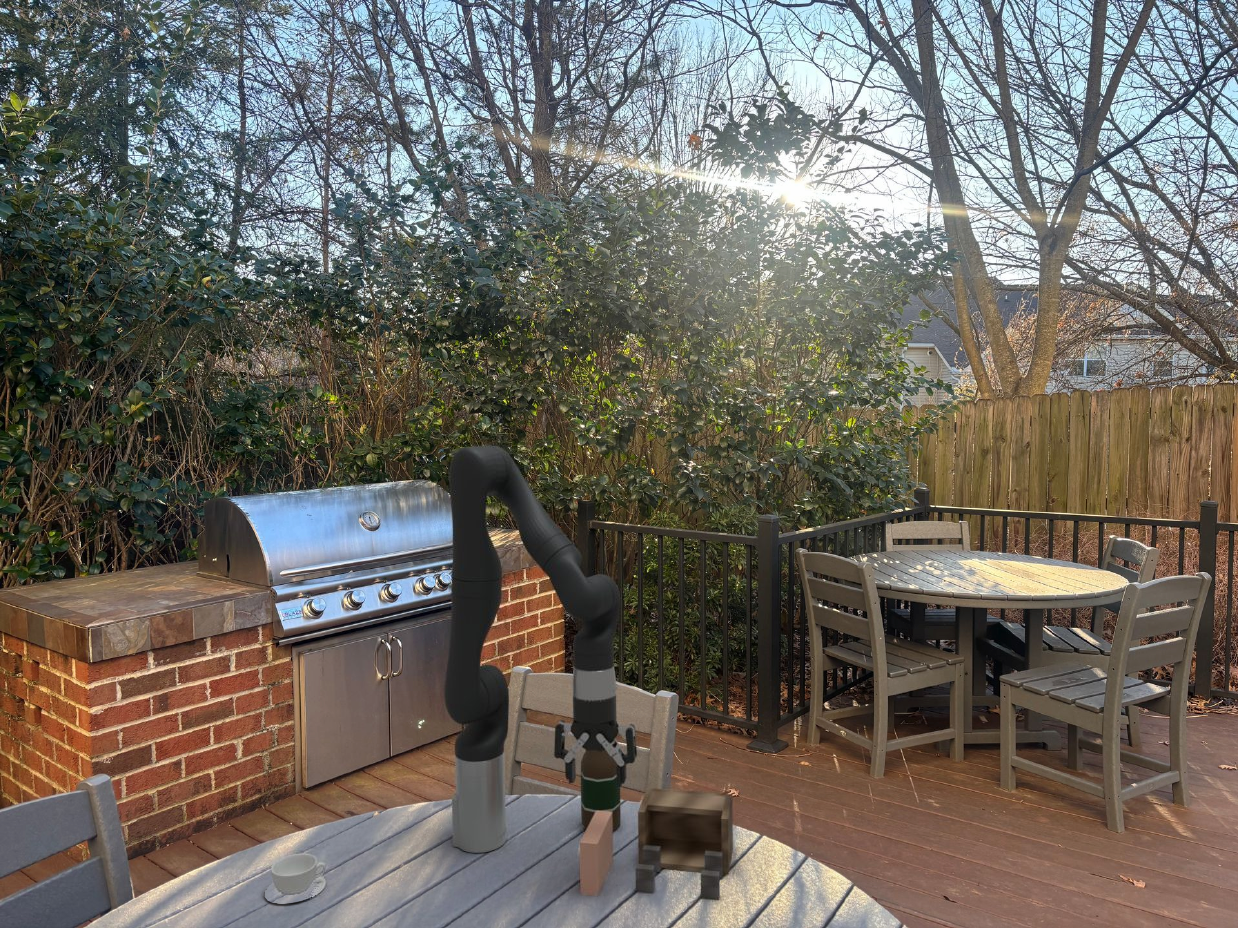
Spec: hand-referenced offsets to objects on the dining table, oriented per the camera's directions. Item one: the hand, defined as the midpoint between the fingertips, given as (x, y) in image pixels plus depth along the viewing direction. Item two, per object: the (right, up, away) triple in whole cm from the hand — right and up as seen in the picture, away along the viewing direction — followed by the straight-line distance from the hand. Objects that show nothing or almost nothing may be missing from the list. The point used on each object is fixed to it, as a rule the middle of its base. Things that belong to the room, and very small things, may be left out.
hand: (596, 783), depth 148 cm
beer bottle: (0, -16, +19) cm, 25 cm away
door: (0, -17, +1) cm, 17 cm away
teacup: (-52, -18, -2) cm, 55 cm away
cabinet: (+16, -16, +3) cm, 23 cm away
